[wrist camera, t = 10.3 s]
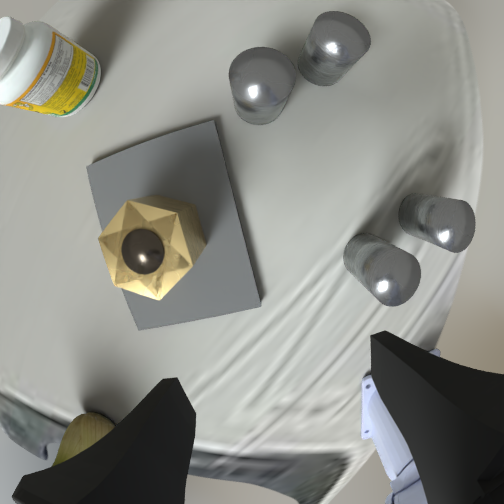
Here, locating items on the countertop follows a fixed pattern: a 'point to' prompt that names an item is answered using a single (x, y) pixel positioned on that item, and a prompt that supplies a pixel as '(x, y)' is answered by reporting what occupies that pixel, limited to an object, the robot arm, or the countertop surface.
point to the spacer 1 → (261, 84)
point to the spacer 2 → (333, 47)
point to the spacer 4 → (438, 220)
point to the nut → (152, 244)
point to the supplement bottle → (44, 69)
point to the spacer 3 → (382, 268)
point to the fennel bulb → (82, 435)
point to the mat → (210, 215)
